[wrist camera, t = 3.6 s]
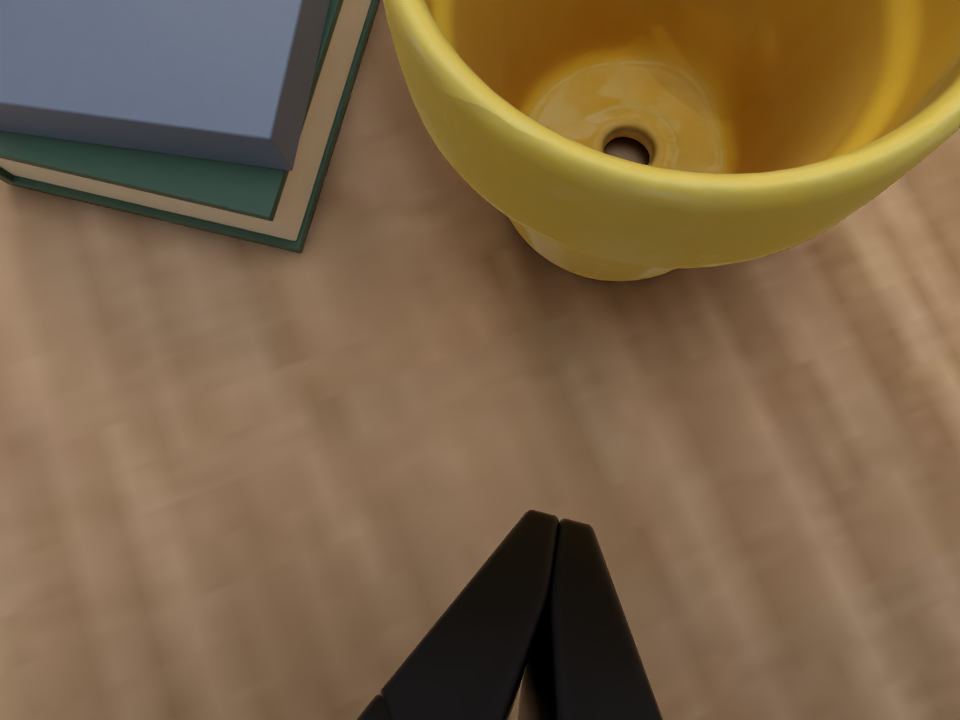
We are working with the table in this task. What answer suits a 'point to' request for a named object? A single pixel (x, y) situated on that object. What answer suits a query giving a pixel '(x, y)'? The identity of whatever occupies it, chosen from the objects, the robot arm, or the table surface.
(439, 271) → the table surface
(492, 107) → the flower pot
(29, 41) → the books
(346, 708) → the table surface
